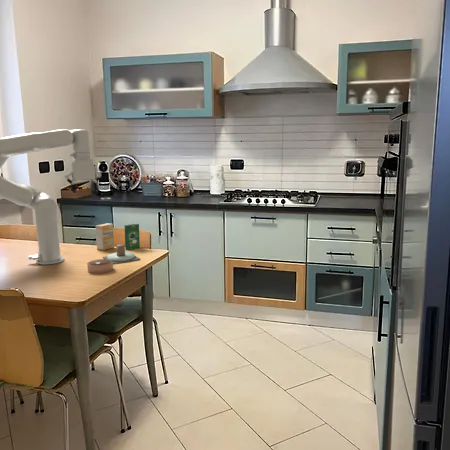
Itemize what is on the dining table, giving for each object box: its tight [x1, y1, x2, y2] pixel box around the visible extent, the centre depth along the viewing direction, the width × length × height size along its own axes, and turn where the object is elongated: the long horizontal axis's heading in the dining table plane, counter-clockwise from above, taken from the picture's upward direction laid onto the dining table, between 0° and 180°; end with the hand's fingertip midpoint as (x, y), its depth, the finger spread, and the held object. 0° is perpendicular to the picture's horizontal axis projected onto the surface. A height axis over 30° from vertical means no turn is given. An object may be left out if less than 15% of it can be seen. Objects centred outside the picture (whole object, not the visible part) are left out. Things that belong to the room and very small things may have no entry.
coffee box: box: [124, 222, 141, 251], centre depth 248 cm, size 8×3×13 cm, turn 142°
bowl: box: [86, 258, 114, 275], centre depth 211 cm, size 11×11×4 cm
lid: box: [106, 243, 136, 261], centre depth 228 cm, size 13×13×6 cm
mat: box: [102, 255, 141, 265], centre depth 229 cm, size 14×14×1 cm
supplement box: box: [95, 222, 115, 251], centre depth 249 cm, size 8×5×13 cm, turn 148°
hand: (84, 191), depth 228 cm, fingers open, 9 cm apart
